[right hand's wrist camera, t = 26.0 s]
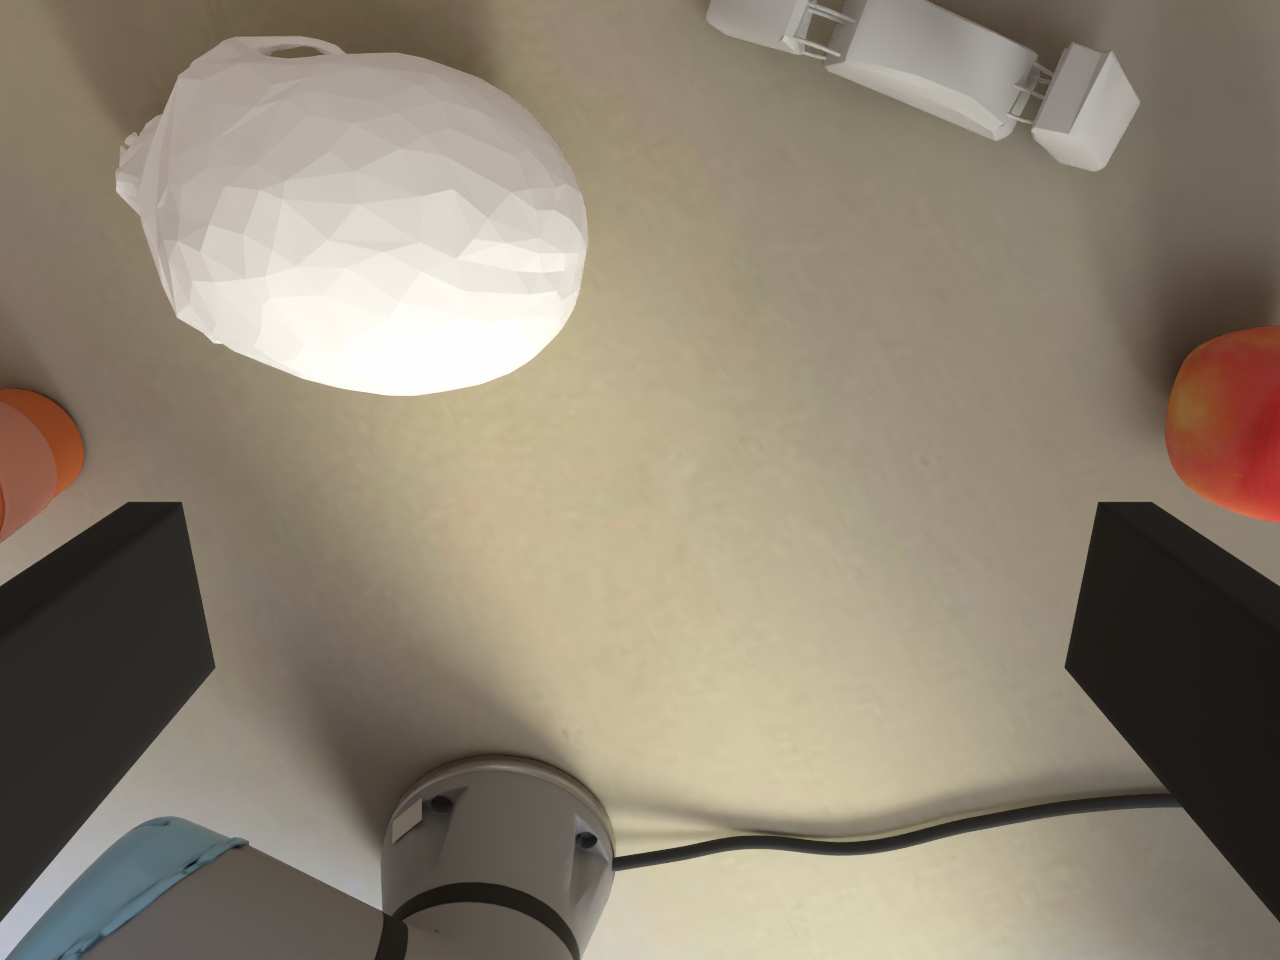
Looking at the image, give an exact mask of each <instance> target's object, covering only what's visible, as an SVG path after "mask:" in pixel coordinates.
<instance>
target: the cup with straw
mask: <svg viewBox="0 0 1280 960" xmlns="http://www.w3.org/2000/svg"><path fill="white" fill-rule="evenodd" d="M83 461H84V446H83V442H82V438H81V435H80V433H79V431H78V429H77V427H76V425H75V423H74V422H73V421H72V419H71V418H70V417H69V415H68V414H67V413H66V412H65V411H64V410H63V409H62V408H61V407H59V406H58V405H57V404H56V403H54V402H53V401H51V400H50V399H48V398H46V397H44V396H42V395H40V394H37V393H35V392H31V391H28V390H22V389H3V390H0V543H1V542H3V541H4V540H5V539H7V538H8V537H9V536H10V535H12V534H13V533H14V532H16V531H17V530H18V529H20V528H21V527H22V526H24V525H25V524H26V523H27V522H29V521H30V520H31V519H33V518H34V517H35V516H37V515H38V514H39V513H40V512H41V511H42V510H44V509H45V508H46V506H47V505H48V504H49V502H50V501H51V499H53V498H54V497H55V496H57V495H58V494H59V493H61V492H62V491H63V490H64V489H66V488H67V487H68V486H69V485H71V484H72V483H73V482H74V481H75V479H76V478H77V477H78V475H79V473H80V471H81V469H82V466H83Z"/></svg>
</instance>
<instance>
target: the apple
mask: <svg viewBox="0 0 1280 960" xmlns="http://www.w3.org/2000/svg"><path fill="white" fill-rule="evenodd" d="M1165 437H1166V446H1167V450H1168V454H1169V457H1170V461H1171V463H1172V465H1173V467H1174V469H1175V471H1176V473H1177V474H1178V476H1179V477H1180V478H1181V480H1182V481H1183V482H1184V483H1185V484H1186V485H1187V486H1188V487H1189V488H1190V489H1191V490H1193V491H1194V492H1196V493H1197V494H1199V495H1200V496H1202V497H1203V498H1205V499H1207V500H1209V501H1211V502H1213V503H1215V504H1216V505H1218V506H1221V507H1223V508H1226V509H1228V510H1231V511H1233V512H1236V513H1239V514H1243V515H1246V516H1249V517H1253V518H1257V519H1261V520H1266V521H1271V522H1278V523H1280V326H1265V327H1257V328H1251V329H1245V330H1239V331H1235V332H1231V333H1228V334H1225V335H1222V336H1219V337H1216V338H1213V339H1211V340H1209V341H1207V342H1205V343H1203V344H1201V345H1200V346H1198V347H1197V348H1196V349H1194V350H1193V351H1192V352H1191V353H1190V354H1189V355H1188V356H1187V358H1186V359H1185V361H1184V362H1183V364H1182V366H1181V368H1180V370H1179V372H1178V375H1177V377H1176V380H1175V382H1174V385H1173V388H1172V391H1171V395H1170V399H1169V403H1168V408H1167V415H1166V429H1165Z"/></svg>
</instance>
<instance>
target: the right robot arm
mask: <svg viewBox="0 0 1280 960" xmlns="http://www.w3.org/2000/svg"><path fill="white" fill-rule="evenodd" d="M214 669H215V663H214V658H213V653H212V648H211V643H210V639H209V634H208V629H207V624H206V619H205V614H204V609H203V604H202V599H201V594H200V589H199V584H198V580H197V575H196V570H195V565H194V560H193V555H192V550H191V545H190V540H189V535H188V530H187V525H186V521H185V516H184V511H183V506H182V502H128V503H126V504H125V505H123V506H121V507H120V508H118V509H117V510H115V511H114V512H112V513H111V514H109V515H108V516H106V517H105V518H103V519H102V520H100V521H99V522H97V523H96V524H94V525H93V526H91V527H90V528H88V529H87V530H85V531H84V532H82V533H80V534H79V535H77V536H76V537H74V538H73V539H71V540H70V541H68V542H67V543H65V544H64V545H62V546H61V547H59V548H58V549H56V550H55V551H53V552H52V553H50V554H49V555H47V556H46V557H44V558H43V559H41V560H40V561H38V562H36V563H35V564H33V565H32V566H30V567H29V568H27V569H26V570H24V571H23V572H21V573H20V574H18V575H17V576H15V577H14V578H12V579H11V580H9V581H8V582H6V583H5V584H3V585H2V586H0V922H1V921H2V920H3V918H4V917H5V916H6V915H7V914H8V913H9V911H10V910H11V909H12V908H13V907H14V905H15V904H16V903H17V902H18V901H19V900H20V898H21V897H22V896H23V895H24V894H25V892H26V891H27V890H28V889H29V888H30V887H31V885H32V884H33V883H34V882H35V881H36V879H37V878H38V877H39V876H40V875H41V873H42V872H43V871H44V870H45V869H46V868H47V866H48V865H49V864H50V863H51V862H52V860H53V859H54V858H55V857H56V856H57V855H58V853H59V852H60V851H61V850H62V849H63V847H64V846H65V845H66V844H67V843H68V842H69V840H70V839H71V838H72V837H73V836H74V834H75V833H76V832H77V831H78V830H79V828H80V827H81V826H82V825H83V824H84V823H85V821H86V820H87V819H88V818H89V817H90V815H91V814H92V813H93V812H94V811H95V810H96V808H97V807H98V806H99V805H100V804H101V802H102V801H103V800H104V799H105V798H106V797H107V795H108V794H109V793H110V792H111V791H112V789H113V788H114V787H115V786H116V785H117V784H118V782H119V781H120V780H121V779H122V778H123V776H124V775H125V774H126V773H127V772H128V770H129V769H130V768H131V767H132V766H133V765H134V763H135V762H136V761H137V760H138V759H139V757H140V756H141V755H142V754H143V753H144V752H145V750H146V749H147V748H148V747H149V746H150V744H151V743H152V742H153V741H154V740H155V739H156V737H157V736H158V735H159V734H160V733H161V731H162V730H163V729H164V728H165V727H166V726H167V724H168V723H169V722H170V721H171V720H172V718H173V717H174V716H175V715H176V714H177V712H178V711H179V710H180V709H181V708H182V707H183V705H184V704H185V703H186V702H187V701H188V699H189V698H190V697H191V696H192V695H193V694H194V692H195V691H196V690H197V689H198V688H199V686H200V685H201V684H202V683H203V682H204V681H205V679H206V678H207V677H208V676H209V675H210V673H211V672H212V671H213V670H214ZM1065 669H1066V670H1067V671H1068V672H1069V673H1070V675H1071V676H1072V677H1073V678H1074V679H1075V681H1076V682H1077V683H1078V684H1079V685H1080V686H1081V688H1082V689H1083V690H1084V691H1085V692H1086V694H1087V695H1088V696H1089V697H1090V698H1091V699H1092V701H1093V702H1094V703H1095V704H1096V705H1097V707H1098V708H1099V709H1100V710H1101V711H1102V712H1103V714H1104V715H1105V716H1106V717H1107V718H1108V720H1109V721H1110V722H1111V723H1112V724H1113V726H1114V727H1115V728H1116V729H1117V730H1118V731H1119V733H1120V734H1121V735H1122V736H1123V737H1124V739H1125V740H1126V741H1127V742H1128V743H1129V744H1130V746H1131V747H1132V748H1133V749H1134V750H1135V752H1136V753H1137V754H1138V755H1139V756H1140V757H1141V759H1142V760H1143V761H1144V762H1145V763H1146V765H1147V766H1148V767H1149V768H1150V769H1151V770H1152V772H1153V773H1154V774H1155V775H1156V776H1157V778H1158V779H1159V780H1160V781H1161V782H1162V784H1163V785H1164V786H1165V787H1166V788H1167V789H1168V791H1169V792H1170V793H1171V794H1143V795H1125V796H1112V797H1100V798H1090V799H1080V800H1071V801H1063V802H1056V803H1049V804H1043V805H1037V806H1031V807H1025V808H1020V809H1014V810H1009V811H1004V812H998V813H993V814H988V815H983V816H977V817H972V818H967V819H962V820H958V821H953V822H949V823H945V824H941V825H937V826H933V827H929V828H926V829H922V830H918V831H914V832H910V833H906V834H902V835H898V836H893V837H888V838H882V839H876V840H869V841H859V842H823V841H813V840H804V839H796V838H788V837H778V836H737V837H728V838H721V839H716V840H711V841H706V842H702V843H697V844H693V845H688V846H683V847H677V848H671V849H665V850H659V851H653V852H647V853H641V854H634V855H628V856H622V857H615V853H616V848H615V838H614V833H613V829H612V826H611V823H610V821H609V819H608V816H607V814H606V813H605V811H604V809H603V808H602V806H601V805H600V803H599V802H598V801H597V799H596V798H595V797H594V796H593V795H592V794H591V793H590V792H589V791H588V790H587V789H586V788H585V787H584V786H583V785H582V784H580V783H579V782H578V781H576V780H575V779H574V778H572V777H570V776H569V775H567V774H565V773H564V772H562V771H560V770H558V769H556V768H554V767H551V766H549V765H546V764H544V763H541V762H537V761H534V760H531V759H526V758H521V757H514V756H504V755H486V756H476V757H470V758H465V759H461V760H457V761H454V762H451V763H448V764H446V765H443V766H441V767H439V768H437V769H435V770H433V771H431V772H429V773H428V774H426V775H425V776H423V777H422V778H421V779H419V780H418V781H417V782H415V783H414V784H413V785H412V786H411V787H410V788H409V789H408V790H407V792H406V793H405V794H404V795H403V796H402V798H401V799H400V801H399V803H398V804H397V806H396V808H395V810H394V812H393V815H392V817H391V820H390V823H389V825H388V828H387V831H386V834H385V837H384V842H383V849H382V855H381V883H382V909H383V912H382V911H381V910H378V909H376V908H374V907H372V906H370V905H368V904H366V903H364V902H362V901H360V900H358V899H356V898H354V897H352V896H350V895H348V894H346V893H344V892H342V891H340V890H338V889H336V888H334V887H332V886H330V885H327V884H325V883H323V882H321V881H319V880H317V879H315V878H313V877H311V876H309V875H307V874H305V873H303V872H301V871H299V870H297V869H295V868H293V867H291V866H289V865H287V864H285V863H283V862H281V861H279V860H277V859H275V858H273V857H271V856H269V855H267V854H265V853H263V852H261V851H259V850H257V849H255V848H253V847H251V846H249V841H247V840H245V839H243V838H236V837H234V838H229V837H226V836H224V835H221V834H219V833H217V832H214V831H212V830H210V829H207V828H205V827H202V826H200V825H198V824H195V823H193V822H191V821H188V820H186V819H183V818H179V817H172V816H167V817H159V818H155V819H152V820H149V821H146V822H144V823H142V824H140V825H139V826H137V827H135V828H134V829H132V830H131V831H129V832H128V833H126V834H125V835H124V836H123V837H121V838H120V839H119V840H118V841H116V842H115V843H114V844H113V845H112V846H111V847H109V848H108V849H107V850H106V851H105V852H104V853H103V854H102V855H101V856H100V857H99V858H98V859H97V860H96V861H95V862H94V863H93V864H92V865H90V866H89V867H88V868H87V869H86V870H85V871H84V872H83V873H82V874H81V875H80V876H79V877H78V879H77V880H76V881H75V882H74V883H73V884H72V885H71V886H70V887H69V888H68V889H67V890H66V891H65V892H64V893H63V894H62V895H61V896H60V897H59V899H58V900H57V901H56V902H55V903H54V904H53V905H52V906H51V907H50V908H49V909H48V910H47V912H46V913H45V914H44V915H43V916H42V917H41V918H40V919H39V920H38V922H37V923H36V924H35V925H34V926H33V927H32V928H31V929H30V931H29V932H28V933H27V934H26V935H25V936H24V937H23V939H22V940H21V941H20V942H19V943H18V944H17V946H16V947H15V948H14V949H13V950H12V952H11V953H10V954H9V955H8V957H7V958H6V959H5V960H581V958H582V956H583V953H584V951H585V949H586V947H587V945H588V943H589V940H590V938H591V936H592V934H593V932H594V929H595V927H596V925H597V923H598V921H599V918H600V916H601V914H602V912H603V910H604V907H605V905H606V903H607V901H608V898H609V895H610V891H611V887H612V884H613V879H614V874H615V871H620V870H626V869H632V868H639V867H645V866H651V865H657V864H663V863H669V862H675V861H681V860H686V859H691V858H696V857H700V856H705V855H709V854H714V853H719V852H725V851H731V850H741V849H775V850H786V851H794V852H802V853H810V854H820V855H838V856H841V855H863V854H873V853H880V852H886V851H892V850H897V849H902V848H906V847H910V846H914V845H918V844H922V843H926V842H930V841H933V840H937V839H941V838H945V837H949V836H953V835H957V834H962V833H966V832H971V831H976V830H982V829H987V828H992V827H998V826H1003V825H1008V824H1014V823H1019V822H1025V821H1030V820H1036V819H1042V818H1048V817H1055V816H1062V815H1069V814H1077V813H1086V812H1096V811H1107V810H1119V809H1133V808H1155V807H1183V808H1184V810H1185V811H1186V812H1187V813H1188V814H1189V815H1190V817H1191V818H1192V819H1193V820H1194V821H1195V823H1196V824H1197V825H1198V826H1199V827H1200V828H1201V830H1202V831H1203V832H1204V833H1205V834H1206V836H1207V837H1208V838H1209V839H1210V840H1211V842H1212V843H1213V844H1214V845H1215V846H1216V847H1217V849H1218V850H1219V851H1220V852H1221V853H1222V855H1223V856H1224V857H1225V858H1226V859H1227V860H1228V862H1229V863H1230V864H1231V865H1232V866H1233V868H1234V869H1235V870H1236V871H1237V872H1238V873H1239V875H1240V876H1241V877H1242V878H1243V879H1244V881H1245V882H1246V883H1247V884H1248V885H1249V887H1250V888H1251V889H1252V890H1253V891H1254V892H1255V894H1256V895H1257V896H1258V897H1259V898H1260V900H1261V901H1262V902H1263V903H1264V904H1265V905H1266V907H1267V908H1268V909H1269V910H1270V911H1271V913H1272V914H1273V915H1274V916H1275V917H1276V918H1277V920H1278V921H1279V922H1280V586H1278V585H1277V584H1275V583H1274V582H1272V581H1271V580H1269V579H1268V578H1266V577H1265V576H1263V575H1262V574H1260V573H1259V572H1257V571H1256V570H1254V569H1253V568H1251V567H1250V566H1248V565H1247V564H1245V563H1244V562H1242V561H1240V560H1239V559H1237V558H1236V557H1234V556H1233V555H1231V554H1230V553H1228V552H1227V551H1225V550H1224V549H1222V548H1221V547H1219V546H1218V545H1216V544H1215V543H1213V542H1212V541H1210V540H1209V539H1207V538H1206V537H1204V536H1203V535H1201V534H1200V533H1198V532H1196V531H1195V530H1193V529H1192V528H1190V527H1189V526H1187V525H1186V524H1184V523H1183V522H1181V521H1180V520H1178V519H1177V518H1175V517H1174V516H1172V515H1171V514H1169V513H1168V512H1166V511H1165V510H1163V509H1162V508H1160V507H1159V506H1157V505H1155V504H1154V503H1152V502H1098V506H1097V511H1096V516H1095V521H1094V525H1093V530H1092V535H1091V540H1090V545H1089V550H1088V555H1087V560H1086V565H1085V570H1084V575H1083V580H1082V584H1081V589H1080V594H1079V599H1078V604H1077V609H1076V614H1075V619H1074V624H1073V629H1072V634H1071V639H1070V643H1069V648H1068V653H1067V658H1066V663H1065Z"/></svg>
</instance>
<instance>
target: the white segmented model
mask: <svg viewBox="0 0 1280 960" xmlns="http://www.w3.org/2000/svg"><path fill="white" fill-rule="evenodd" d="M816 2H817V0H711V1H710V4H709V7H708V11H707V14H706V20H707V22H708V23H710V24H711V25H712V26H714V27H715V28H717V29H718V30H719V31H721V32H722V33H724V34H725V35H727V36H730V37H734V38H737V39H741V40H745V41H748V42H752V43H756V44H759V45H763V46H767V47H770V48H774V49H778V50H782V51H785V52H789V53H793V54H797V55H802V54H804V55H807V56H810V57H814V58H819V59H823V66H824V67H825V68H826V69H827V70H828V71H829V72H831V73H834V74H836V75H839V76H841V77H844V78H846V79H848V80H851V81H853V82H856V83H858V84H860V85H863V86H865V87H868V88H870V89H873V90H875V91H877V92H880V93H882V94H885V95H887V96H889V97H892V98H894V99H897V100H899V101H901V102H904V103H906V104H908V105H911V106H913V107H915V108H918V109H920V110H923V111H925V112H927V113H930V114H932V115H934V116H937V117H939V118H942V119H944V120H946V121H949V122H951V123H954V124H956V125H958V126H961V127H963V128H965V129H968V130H970V131H973V132H975V133H977V134H980V135H982V136H984V137H987V138H989V139H992V140H994V141H997V140H1000V139H1003V138H1005V137H1006V136H1008V135H1009V134H1011V133H1012V131H1013V129H1014V127H1015V125H1016V123H1017V121H1020V122H1024V123H1028V124H1032V127H1031V135H1032V137H1033V139H1034V140H1036V141H1037V142H1038V143H1039V144H1040V145H1042V146H1043V147H1044V148H1045V149H1046V150H1047V151H1048V152H1049V153H1050V154H1051V155H1052V156H1053V158H1054V159H1055V160H1056V161H1058V162H1060V163H1063V164H1066V165H1070V166H1074V167H1078V168H1082V169H1086V170H1090V171H1093V172H1095V171H1098V170H1100V169H1102V168H1104V167H1105V166H1106V165H1107V163H1108V161H1109V159H1110V157H1111V156H1112V154H1113V152H1114V150H1115V148H1116V147H1117V145H1118V143H1119V141H1120V139H1121V138H1122V136H1123V134H1124V132H1125V130H1126V129H1127V127H1128V125H1129V123H1130V121H1131V119H1132V118H1133V116H1134V114H1135V112H1136V110H1137V109H1138V107H1139V105H1140V101H1139V98H1138V96H1137V94H1136V92H1135V91H1134V89H1133V88H1132V86H1131V84H1130V83H1129V81H1128V79H1127V78H1126V76H1125V74H1124V72H1123V70H1122V68H1121V66H1120V64H1119V62H1118V60H1117V58H1116V56H1115V54H1114V52H1113V50H1111V51H1106V52H1100V51H1097V50H1095V49H1092V48H1089V47H1086V46H1083V45H1081V44H1078V43H1075V42H1072V43H1071V44H1070V46H1069V48H1065V49H1064V51H1063V53H1062V56H1061V58H1060V60H1059V63H1058V65H1057V68H1056V70H1055V72H1054V73H1053V72H1052V71H1050V70H1048V69H1046V68H1045V67H1043V66H1041V65H1039V61H1038V59H1037V58H1038V55H1037V54H1036V53H1035V52H1034V51H1033V50H1031V49H1029V48H1027V47H1025V46H1023V45H1021V44H1019V43H1017V42H1015V41H1013V40H1011V39H1009V38H1007V37H1005V36H1003V35H1001V34H999V33H997V32H995V31H993V30H991V29H989V28H986V27H984V26H982V25H980V24H978V23H975V22H973V21H971V20H969V19H967V18H964V17H962V16H960V15H958V14H955V13H953V12H951V11H949V10H947V9H944V8H942V7H940V6H938V5H936V4H934V3H932V2H930V1H928V0H845V1H844V4H843V7H842V9H841V12H840V13H839V12H837V11H835V10H833V9H831V8H828V7H825V6H822V5H819V4H816ZM826 12H827V13H826ZM813 13H814V14H817V15H820V16H823V17H826V18H828V19H830V20H833V21H835V22H837V23H836V25H835V28H834V31H833V34H832V36H831V39H830V42H829V44H828V47H826V46H823V45H821V44H818V43H815V42H813V41H810V40H807V39H806V35H807V31H808V28H809V24H810V21H811V18H812V15H813ZM829 13H830V14H829ZM831 14H832V15H831ZM806 45H809V46H812V47H815V48H818V49H820V50H823V51H825V55H822V54H817V53H813V52H810V51H807V50H805V46H806ZM1040 71H1041V72H1043V73H1045V74H1047V75H1048V76H1050V77H1052V79H1051V80H1047V79H1043V78H1040ZM1037 82H1041V83H1044V84H1049V87H1048V89H1047V91H1046V94H1045V96H1044V95H1042V94H1040V93H1037V92H1035V91H1033V90H1034V88H1035V86H1036V84H1037ZM1030 95H1032V96H1035V97H1037V98H1039V99H1041V100H1043V101H1042V103H1041V106H1040V108H1039V111H1038V113H1037V115H1036V118H1035V120H1031V119H1027V118H1023V117H1020V115H1021V113H1022V111H1023V109H1024V107H1025V105H1026V103H1027V101H1028V99H1029V97H1030Z"/></svg>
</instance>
